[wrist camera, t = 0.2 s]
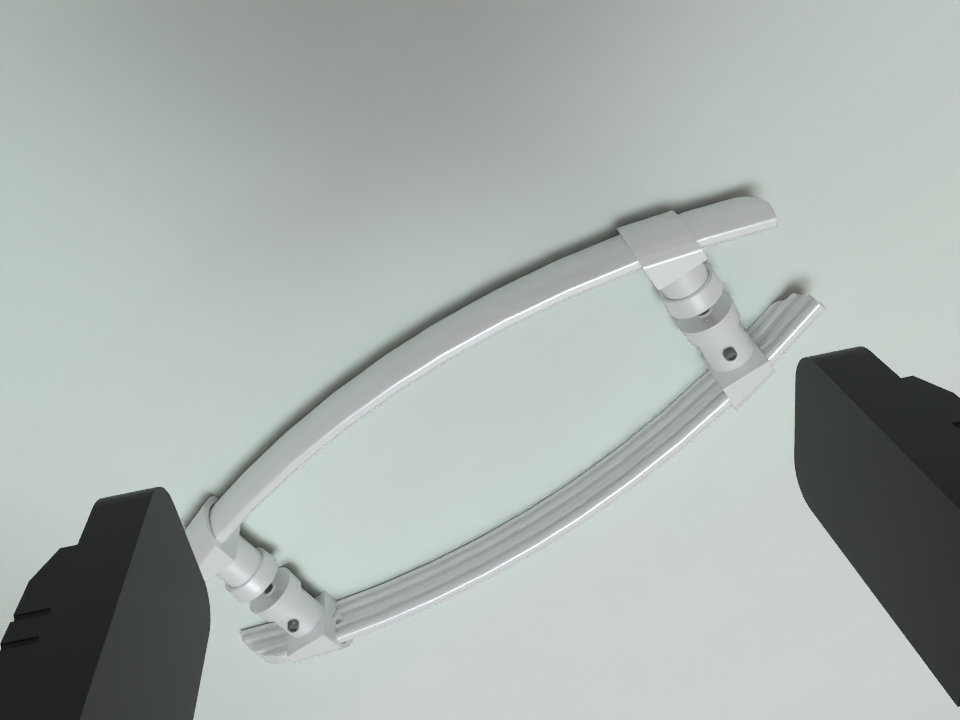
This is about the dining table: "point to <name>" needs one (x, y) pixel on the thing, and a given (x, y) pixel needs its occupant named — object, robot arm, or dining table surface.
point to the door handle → (729, 381)
